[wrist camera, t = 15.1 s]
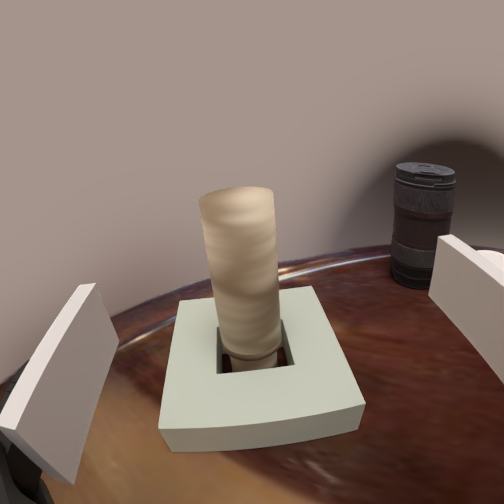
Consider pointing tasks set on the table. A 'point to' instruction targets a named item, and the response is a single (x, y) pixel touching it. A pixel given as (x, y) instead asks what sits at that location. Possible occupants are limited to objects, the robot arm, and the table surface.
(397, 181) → the camera lens
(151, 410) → the table surface
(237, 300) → the leg
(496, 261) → the coaster
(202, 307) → the board
